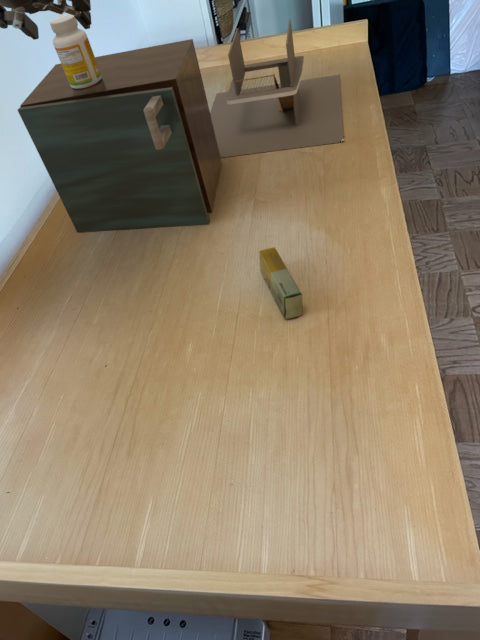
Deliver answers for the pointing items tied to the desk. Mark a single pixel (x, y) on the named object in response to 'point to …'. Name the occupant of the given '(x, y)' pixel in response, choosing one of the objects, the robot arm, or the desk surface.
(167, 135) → the door
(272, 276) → the medication box
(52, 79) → the cupboard
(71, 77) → the supplement bottle
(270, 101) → the grey brown stand-shaped piece
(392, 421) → the desk surface
